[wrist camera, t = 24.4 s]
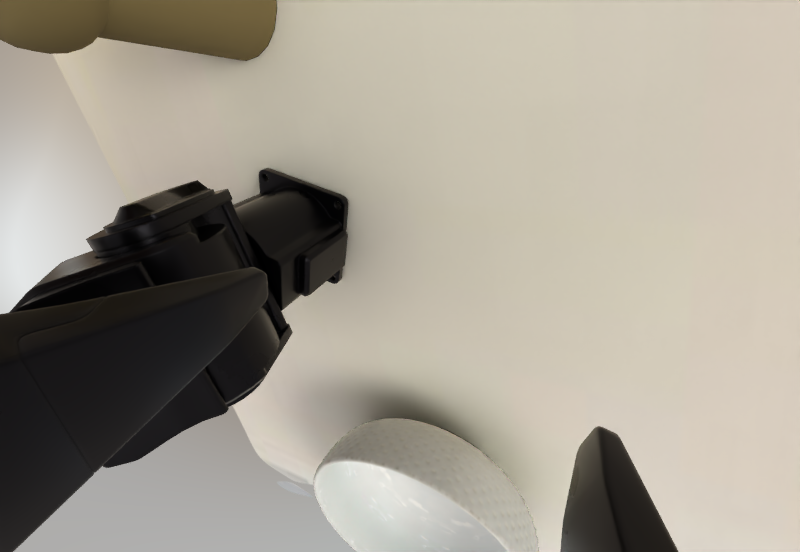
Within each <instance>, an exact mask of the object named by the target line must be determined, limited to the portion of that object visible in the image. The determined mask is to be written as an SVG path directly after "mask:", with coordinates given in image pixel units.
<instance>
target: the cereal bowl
mask: <svg viewBox="0 0 800 552" xmlns="http://www.w3.org/2000/svg"><path fill="white" fill-rule="evenodd" d="M314 491H315V495H316V499H317V501H318V504H319V506H320V508H321V510H322V512H323V513H324V515H325V517H326V518H327V520H328V521H329V522H330V524H331V525H332V526H333V528H334V529H335V530H336V531H337V533H338V534H339V535H340V536H341V537H342V538H343V539H344V541H345V542H346V543H347V544H348V545H349V546H350V547H351V548H352V549H353V550H355V551H356V552H539V548H538V537H537V535H536V528H535V526H534V523H533V519H532V517H531V515H530V513H529V510H528V507H527V506H526V504H525V502H524V499H523V498H522V496H521V495H520V493H519V491H518V490H517V488H516V487H515V486H514V484H513V483H512V481H511V480H510V479H509V478H508V477H507V476H506V474H505V473H504V472H503V471H502V470H501V469H500V468H499V467H498V466H497V465H496V464H495V463H494V462H493V461H492V460H491V459H489V458H488V457H487V456H486V455H485V454H484V453H483V452H481V451H480V450H479V449H478V448H476V447H474V446H473V445H472V444H470V443H468V442H467V441H465V440H463V439H462V438H460V437H458V436H456V435H454V434H452V433H450V432H448V431H446V430H443V429H441V428H439V427H436V426H433V425H430V424H427V423H423V422H420V421H414V420H411V419H402V418H398V419H397V418H389V419H387V418H384V419H381V420H375V421H370V422H368V423H365V424H362V425H361V426H359V427H356V428H355V429H353V430H352V431H350V432H348V433H347V434H346V435H345V436H343V437H342V438H341V440H340V441H339V442H337V443H336V444H335V446H334V447H333V448H332V449H331V450H330V452H329V453H328V454H327V456H326V457H325V458H324V459H323V461H322V462H321V464H320V465H319V466H318V468H317V471H316V473H315V476H314Z"/></svg>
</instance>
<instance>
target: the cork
mask: <svg viewBox="0 0 800 552" xmlns="http://www.w3.org/2000/svg"><path fill="white" fill-rule="evenodd" d="M276 12H277V5H276V0H0V40H2V41H4V42H6V43H8V44H11V45H13V46H15V47H17V48H22V49H27V50H31V51H36V52H43V53H49V54H52V53H69V52H73V51H76V50H79V49H83V48H84V47H86V46H88V45H90V44H91V43H93V42H94V40H95V39H96V38H97V37H100V38H106V39H112V40H119V41H125V42H131V43H137V44H143V45H150V46H156V47H162V48H168V49H174V50H181V51H187V52H193V53H199V54H206V55H212V56H218V57H224V58H230V59H237V60H245V61H247V60H250V59H252V58H255V57H257V56H259V55H260V54H261V53H262V51H263V50H264V49H265V48H266V47H267V46H268V44H269V41H270V39H271V36H272V34H273V32H274V28H275V20H276Z"/></svg>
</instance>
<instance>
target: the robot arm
mask: <svg viewBox="0 0 800 552" xmlns="http://www.w3.org/2000/svg"><path fill="white" fill-rule="evenodd" d="M267 176H268V178H267ZM259 183H260V194H258V195H256V196H253V197H251V198H248V199H246V200H244V201H241V202H239V203H237V204H234V205H233V204H232V201H231V200H232V197H231V195H230V192H229V190H228V189H225V190H220V191H216V192H214V190H213V189H212V190H210V189H208V188H207V187H205V186H204V185H203V184H201V183H200V182H199V181H198V180H197V181H193V182H189V183H186V184H183V185H180V186H177V187H174V188H171V189H168V190H165V191H162V192H159V193H156V194H153V195H151V196H148V197H145V198H143V199H140V200H138V201H135V202H132V203H130V204H127V205H124V206H122V207H120V208H119V210H118V213H117V215H116V217H115V220H114V222H113V223H111V224H109V225H107V226H105V227H103V228H104V230H102V231H100V232H98V233H96V234H94V235H92V236H91V237H89V238H87V239H86V240H87V242H88V243H89V245H90V246H91V248H92V249H93V251H91V252H88V253H85V254H83V255H80V256H77V257H74V258H71V259H68V260H66V261H64V262H62V263H60V264H59V265H58V266H57V267H56V268H54V269H53V270H52V271H51V272H50V273H49V274H48V275H47V276H45V277H44V278H43V279H42V280H41V281H40V282H39V283H38V284H37V285H35V286H34V287H33V288H32V289H31V290H30V291H28V292H27V293H26V294H25V296H24V297H23V298H22V299H21V300H20V301H19V302H18V303H17V305H16V306H15V307H14V308H13V309H12V310H11V311H10V312H9V313H6V314H0V552H13V551H14V550H15V549H16V548H17V547H18V546H20V545H21V543H23V542H24V541H25V540H26V539H27V538H28V537H29V536H30V535H31V534H32V533H33V532H34V531H35V530H36V529H37V528H38V527H39V526H40V525H41V524H42V523H43V522H44V521H46V520H47V519H48V518H49V517H50V516H51V515H52V514H53V513H54V512H55V511H56V510H57V509H58V508H59V507H60V506H61V505H62V504H63V503H64V502H65V501H66V500H67V499H68V498H69V497H71V496H72V495H73V494H74V493H75V491H77V490H78V489H79V488H80V487H81V486H82V485H83V484H84V483H85V482H86V481H87V480H88V479H89V478H90V477H92V476H93V474H94V472H96V471H97V470H99V469H100V468H101V467H102V466H103V467H106V468H109V467H114V466H117V465H121V464H125V463H129V462H133V461H136V460H138V459H140V458H142V457H143V456H145V455H146V454H148V453H150V452H151V451H153V450H154V449H156V448H157V447H159V446H160V445H162V444H163V443H165V442H166V441H167V440H169V439H171V438H172V437H174V436H176V435H177V434H179V433H181V432H182V431H184V430H186V429H188V428H190V427H192V426H194V425H196V424H198V423H200V422H202V421H205V420H208V419H211V418H213V417H216V416H219V415H222V414H224V413H226V412H227V410H228V407H229V406H231V405H233V404H235V403H237V402H239V401H240V400H242V399H244V398H245V397H246V396H248V395H249V394H250V393H252V392H253V391H254V390H255V389H256V388H257V387H258V386H259V385H260V384H261V382H262V381H263V380H264V378H265V376H266V375H267V373H268V372H269V370H270V368H271V367H272V365H273V363H274V362H275V360H276V359H277V357H278V355H279V354H280V352H281V351H282V349H283V347H284V346H285V344H286V342H287V341H288V339H289V338H290V336H291V334H292V330H291V328H290V325H289V324H287V323H286V321H285V318H284V316H283V314H282V312H281V311H282V310H283V309H284V308H286V307H287V306H288V305H289V304H290V303H292V302H293V301H294V300H295V299H297V298H298V297H299V296H300V295H303V296H308V295H310V294H311V293H313V292H314V291H315V290H316V289H317V288H318V287H320V286H321V285H322V284H323V283H324V282H326V281H329V282H331V283H334V284H336V283H338V282H339V281H340V280H341V278H342V270H343V266H344V265H345V257H346V246H347V231H346V225H347V214H348V201H347V199H346V198H345V197H344V196H342V195H340V194H337V193H335V192H332V191H329V190H327V189H324V188H321V187H318V186H316V185H313V184H310V183H307V182H305V181H302V180H299V179H297V178H294V177H291V176H288V175H286V174H283V173H280V172H277V171H275V170H272V169H269V168H266V169H263V170H261V171H260V172H259ZM338 201H339V202H340V203H341V206H339V204H338ZM333 275H334V276H335V277H334V276H333ZM561 552H678V550H677V548H676V546H675V544H674V542H673V540H672V538H671V536H670V534H669V532H668V531H667V529H666V527H665V525H664V523H663V521H662V519H661V517H660V515H659V513H658V511H657V509H656V507H655V505H654V503H653V501H652V499H651V497H650V495H649V494H648V492H647V490H646V488H645V486H644V484H643V482H642V480H641V478H640V476H639V474H638V472H637V470H636V468H635V466H634V464H633V462H632V460H631V458H630V457H629V455H628V453H627V451H626V449H625V447H624V445H623V443H622V441H621V439H620V437H619V436H618V435H617V434H616V433H614V432H611V431H609V430H607V429H605V428H603V427H600V426H598V427H596V428H594V429H593V431H592V432H591V433H590V434H589V436H588V437H587V438H586V439H585V440H584V442H583V443H582V444H581V445H580V447H579V449H578V452H577V455H576V460H575V465H574V470H573V475H572V479H571V484H570V489H569V494H568V499H567V504H566V509H565V514H564V520H563V528H562V539H561Z"/></svg>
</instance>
